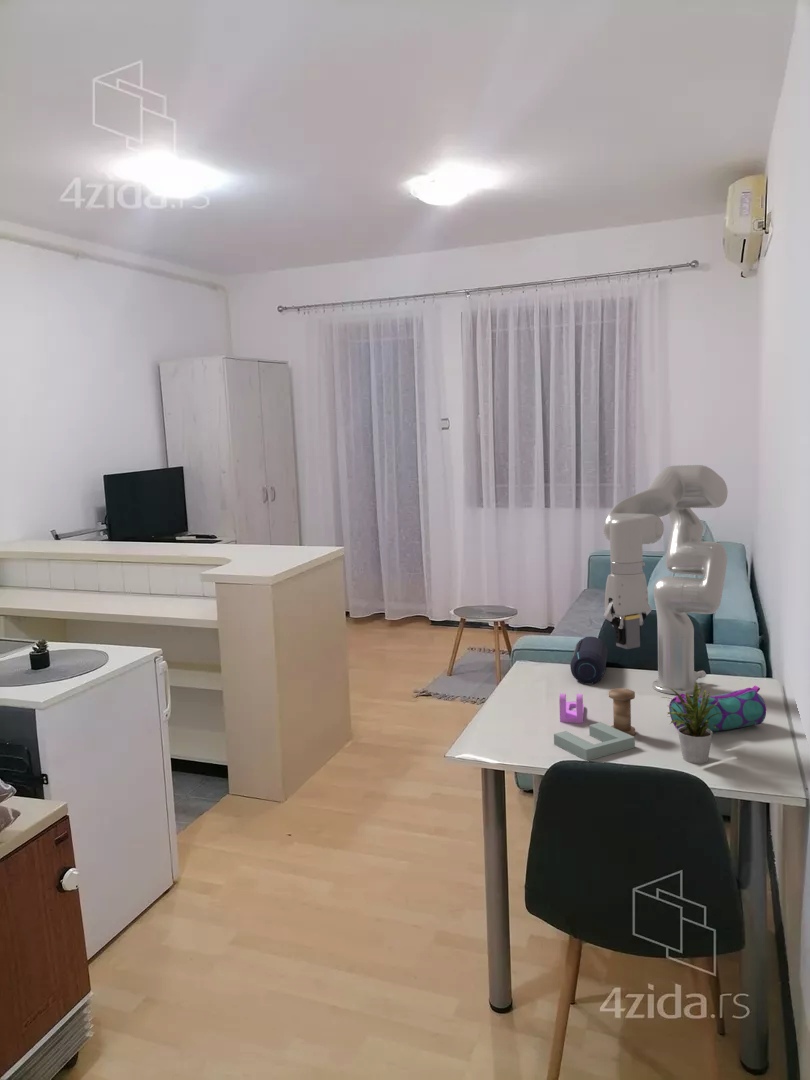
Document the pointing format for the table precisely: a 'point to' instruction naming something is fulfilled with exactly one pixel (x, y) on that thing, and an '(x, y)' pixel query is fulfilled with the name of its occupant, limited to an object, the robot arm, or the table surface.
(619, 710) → the bobbin
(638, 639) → the yellow and grey block
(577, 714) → the bracket
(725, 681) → the table surface
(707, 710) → the house plant
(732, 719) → the pencil case
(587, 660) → the portable speaker
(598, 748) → the notched board
